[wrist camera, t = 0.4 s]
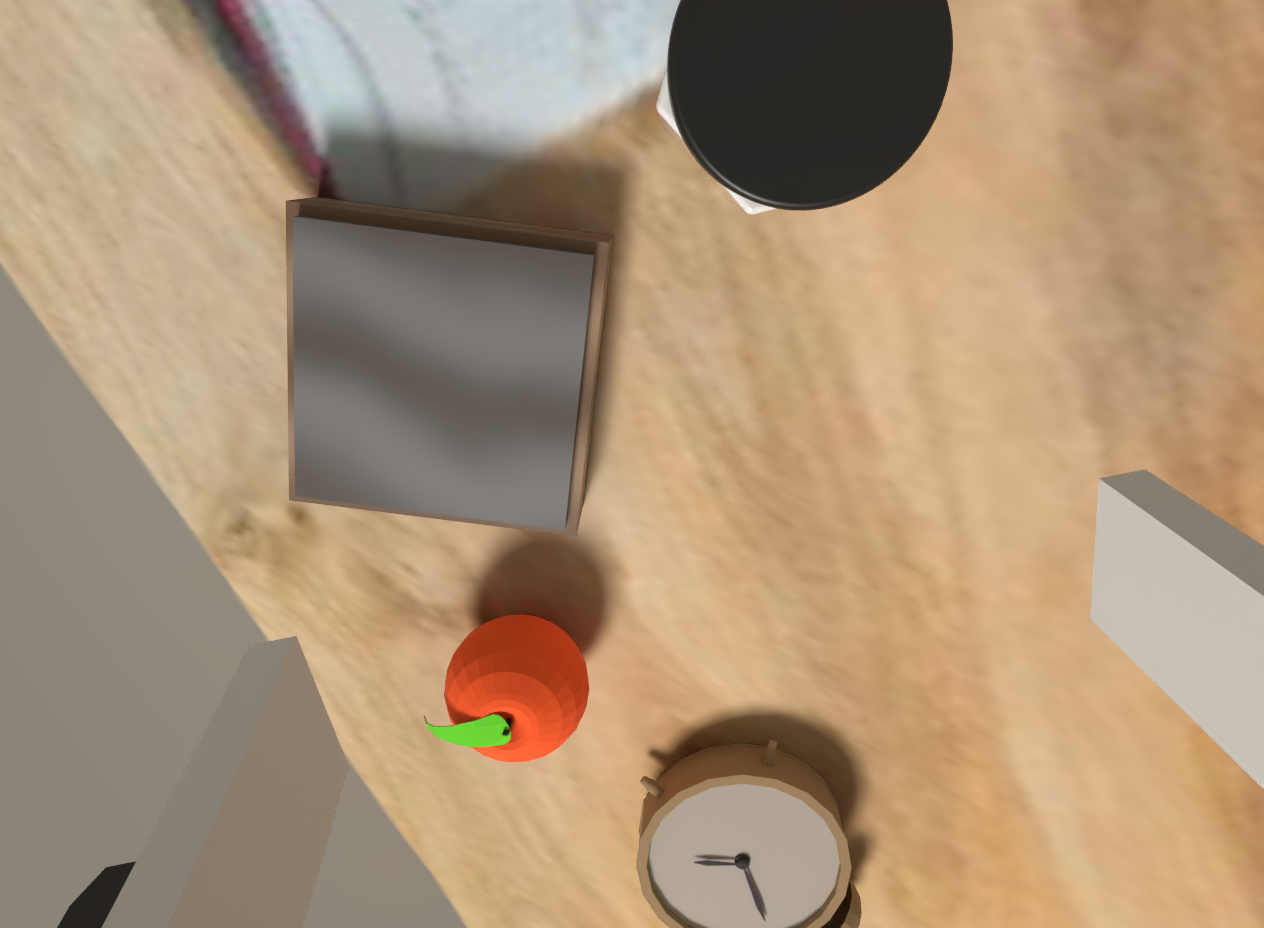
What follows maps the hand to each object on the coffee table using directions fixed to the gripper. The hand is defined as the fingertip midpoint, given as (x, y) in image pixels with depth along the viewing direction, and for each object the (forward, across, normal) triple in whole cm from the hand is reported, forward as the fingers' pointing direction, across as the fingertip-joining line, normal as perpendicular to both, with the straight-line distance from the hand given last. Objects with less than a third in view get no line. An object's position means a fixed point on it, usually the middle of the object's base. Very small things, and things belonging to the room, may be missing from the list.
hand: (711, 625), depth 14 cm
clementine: (+26, -8, -18) cm, 33 cm away
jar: (+27, +8, +6) cm, 29 cm away
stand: (+27, -7, -2) cm, 28 cm away
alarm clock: (+24, +2, -32) cm, 40 cm away
